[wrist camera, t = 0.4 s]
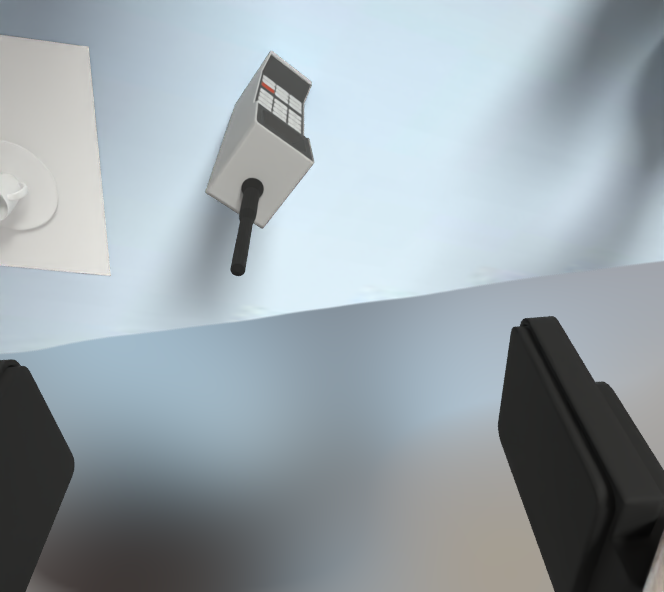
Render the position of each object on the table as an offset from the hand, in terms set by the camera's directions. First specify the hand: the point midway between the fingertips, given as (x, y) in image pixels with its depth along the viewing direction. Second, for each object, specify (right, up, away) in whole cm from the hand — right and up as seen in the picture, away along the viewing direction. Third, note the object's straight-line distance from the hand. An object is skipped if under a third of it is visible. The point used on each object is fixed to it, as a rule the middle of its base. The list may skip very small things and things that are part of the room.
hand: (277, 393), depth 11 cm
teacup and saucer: (-28, +13, +35) cm, 46 cm away
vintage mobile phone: (-3, +18, +33) cm, 37 cm away
